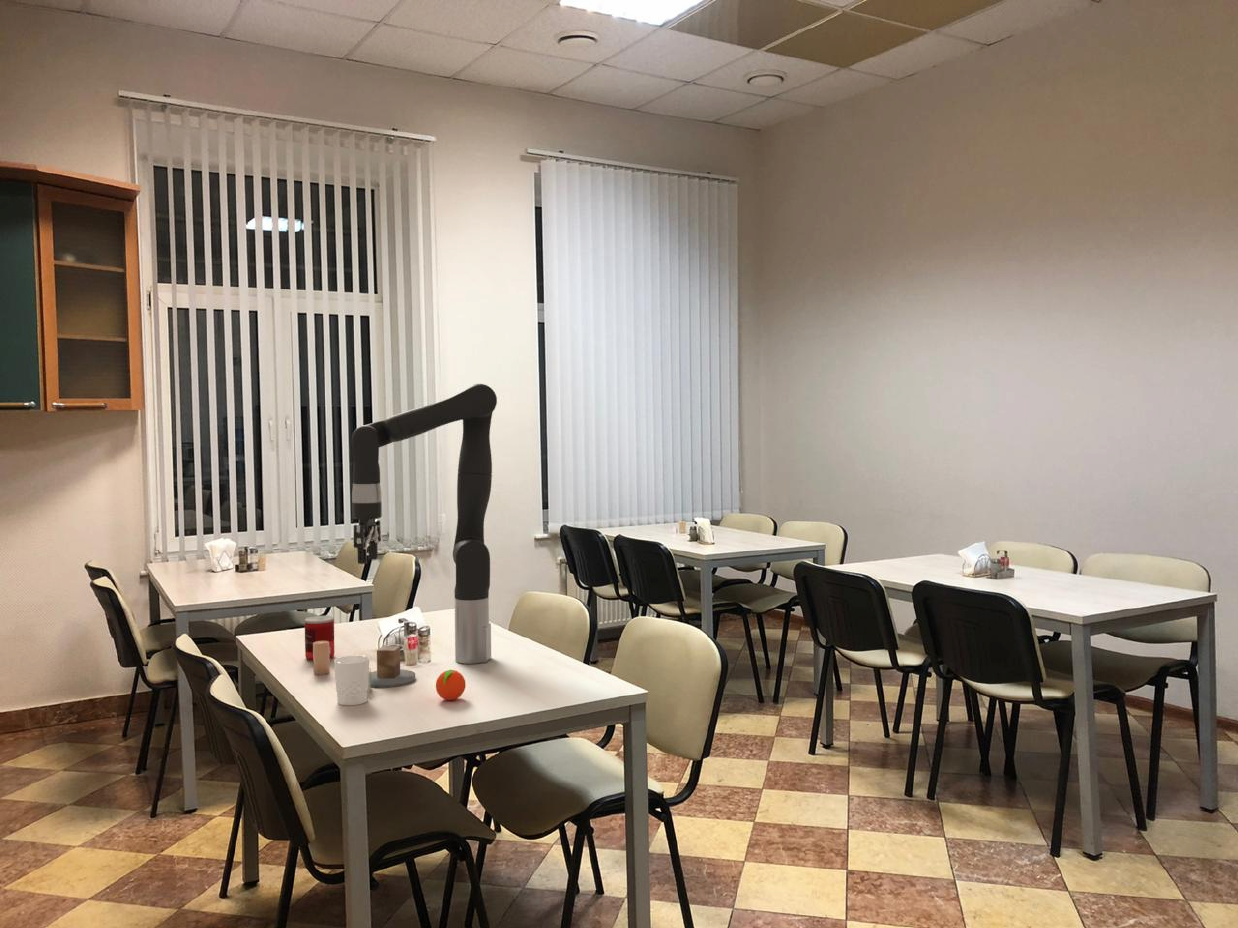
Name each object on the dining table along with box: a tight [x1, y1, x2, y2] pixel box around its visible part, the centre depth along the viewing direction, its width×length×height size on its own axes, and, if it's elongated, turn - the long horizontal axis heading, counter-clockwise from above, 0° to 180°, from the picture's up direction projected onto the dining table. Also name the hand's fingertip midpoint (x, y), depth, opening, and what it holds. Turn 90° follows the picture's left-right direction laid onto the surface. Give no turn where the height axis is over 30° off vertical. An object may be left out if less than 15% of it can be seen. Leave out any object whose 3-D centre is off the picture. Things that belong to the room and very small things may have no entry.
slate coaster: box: [371, 668, 416, 688], centre depth 245 cm, size 13×13×1 cm
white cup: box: [333, 654, 370, 706], centre depth 226 cm, size 8×8×10 cm
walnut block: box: [376, 645, 401, 678], centre depth 244 cm, size 4×4×7 cm
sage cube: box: [368, 667, 372, 695], centre depth 235 cm, size 5×5×5 cm
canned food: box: [304, 615, 335, 662], centre depth 269 cm, size 8×8×11 cm
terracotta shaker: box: [312, 641, 331, 676], centre depth 252 cm, size 4×4×8 cm
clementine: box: [435, 669, 467, 701], centre depth 227 cm, size 8×7×7 cm
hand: (367, 561), depth 258 cm, fingers open, 8 cm apart
